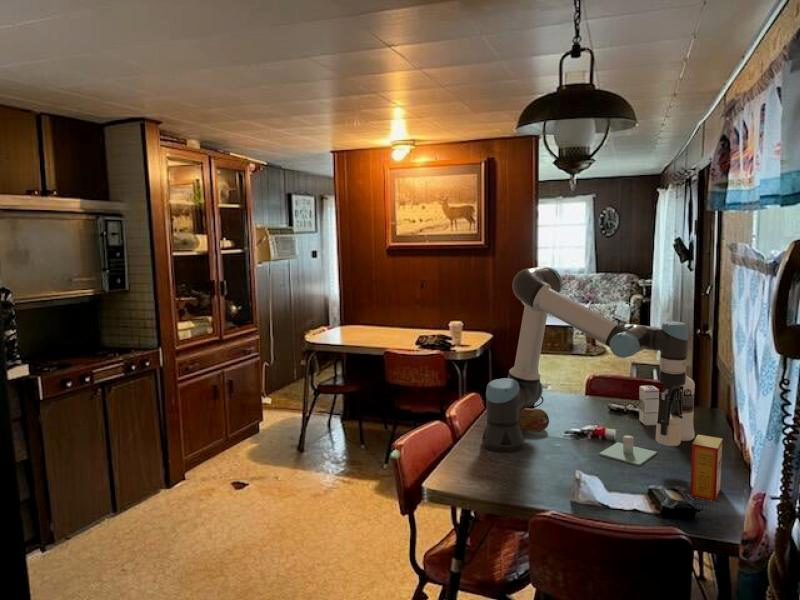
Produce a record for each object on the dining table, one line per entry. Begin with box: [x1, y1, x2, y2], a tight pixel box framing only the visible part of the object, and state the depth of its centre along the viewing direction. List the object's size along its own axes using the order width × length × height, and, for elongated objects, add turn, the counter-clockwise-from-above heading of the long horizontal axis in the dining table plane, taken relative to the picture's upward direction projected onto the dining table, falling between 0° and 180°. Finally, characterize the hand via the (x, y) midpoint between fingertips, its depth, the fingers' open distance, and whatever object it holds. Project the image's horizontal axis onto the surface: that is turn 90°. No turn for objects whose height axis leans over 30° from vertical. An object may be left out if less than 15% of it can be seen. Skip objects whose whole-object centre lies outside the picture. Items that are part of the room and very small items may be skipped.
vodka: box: [680, 360, 696, 442], centre depth 212 cm, size 9×9×30 cm
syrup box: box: [638, 385, 660, 426], centre depth 229 cm, size 6×6×14 cm
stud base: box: [598, 435, 658, 467], centre depth 199 cm, size 14×14×6 cm
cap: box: [655, 415, 682, 447], centre depth 186 cm, size 7×7×8 cm
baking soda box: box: [689, 434, 724, 502], centre depth 169 cm, size 10×6×16 cm
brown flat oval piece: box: [519, 408, 550, 432], centre depth 226 cm, size 15×3×8 cm, turn 76°
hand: (668, 440), depth 186 cm, fingers closed on cap, 7 cm apart
